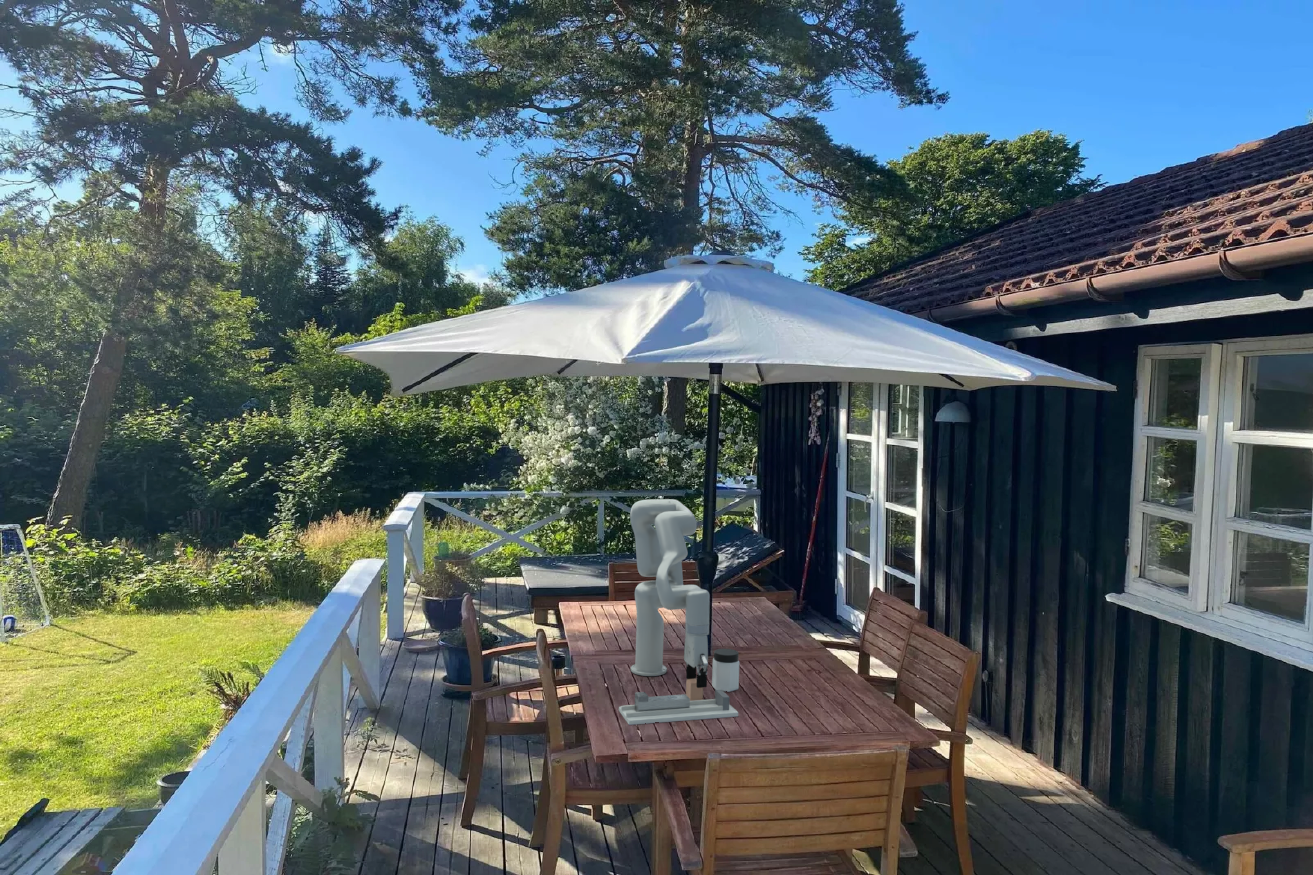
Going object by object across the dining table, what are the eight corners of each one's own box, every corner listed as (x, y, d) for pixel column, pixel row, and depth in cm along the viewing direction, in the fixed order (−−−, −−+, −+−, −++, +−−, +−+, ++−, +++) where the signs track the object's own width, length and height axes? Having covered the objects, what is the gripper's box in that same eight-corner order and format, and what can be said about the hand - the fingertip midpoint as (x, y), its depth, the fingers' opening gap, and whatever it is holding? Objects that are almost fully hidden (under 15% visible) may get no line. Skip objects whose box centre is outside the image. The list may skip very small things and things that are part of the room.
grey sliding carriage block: (634, 709, 257) (635, 692, 257) (685, 706, 262) (685, 689, 262) (638, 714, 253) (638, 696, 253) (689, 710, 258) (689, 693, 258)
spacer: (685, 697, 274) (686, 679, 274) (698, 697, 275) (698, 678, 275) (690, 702, 270) (690, 683, 270) (702, 701, 271) (703, 682, 271)
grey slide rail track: (618, 710, 260) (619, 693, 260) (723, 703, 270) (724, 686, 270) (629, 724, 249) (629, 707, 248) (738, 716, 258) (738, 699, 258)
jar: (725, 682, 291) (726, 646, 291) (743, 688, 285) (744, 652, 285) (706, 687, 285) (708, 651, 285) (725, 693, 279) (726, 657, 279)
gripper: (677, 623, 279) (676, 676, 279) (695, 635, 262) (694, 691, 262) (699, 622, 281) (698, 674, 281) (718, 634, 264) (717, 690, 264)
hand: (696, 682), depth 271 cm, fingers open, 9 cm apart
